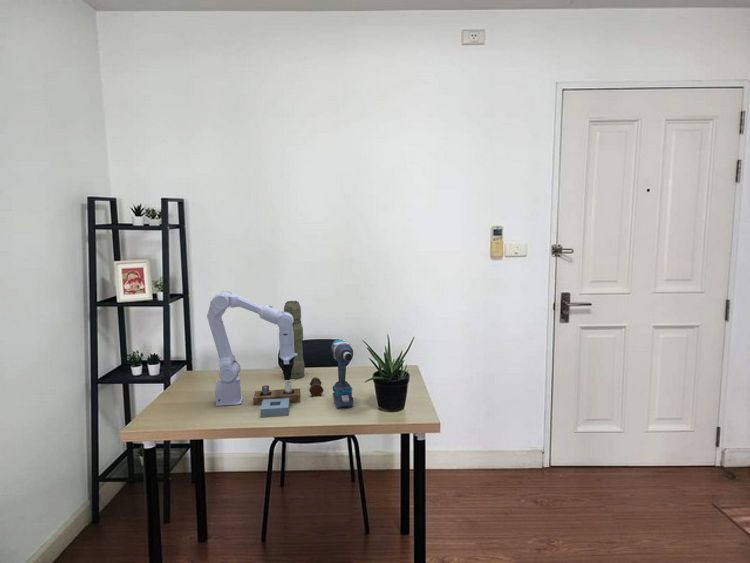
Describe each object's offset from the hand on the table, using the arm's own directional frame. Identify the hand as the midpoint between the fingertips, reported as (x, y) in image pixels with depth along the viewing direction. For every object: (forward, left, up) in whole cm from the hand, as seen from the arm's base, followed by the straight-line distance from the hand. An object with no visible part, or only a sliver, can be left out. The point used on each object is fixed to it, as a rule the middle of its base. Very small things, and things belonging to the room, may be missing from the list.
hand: (288, 376), depth 196 cm
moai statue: (+2, +29, -10) cm, 31 cm away
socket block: (-4, -12, -9) cm, 16 cm away
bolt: (+11, +9, -10) cm, 17 cm away
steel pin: (0, 0, -9) cm, 9 cm away
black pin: (-9, 0, -9) cm, 13 cm away
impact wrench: (+22, -11, -10) cm, 26 cm away
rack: (-4, 0, -9) cm, 10 cm away
